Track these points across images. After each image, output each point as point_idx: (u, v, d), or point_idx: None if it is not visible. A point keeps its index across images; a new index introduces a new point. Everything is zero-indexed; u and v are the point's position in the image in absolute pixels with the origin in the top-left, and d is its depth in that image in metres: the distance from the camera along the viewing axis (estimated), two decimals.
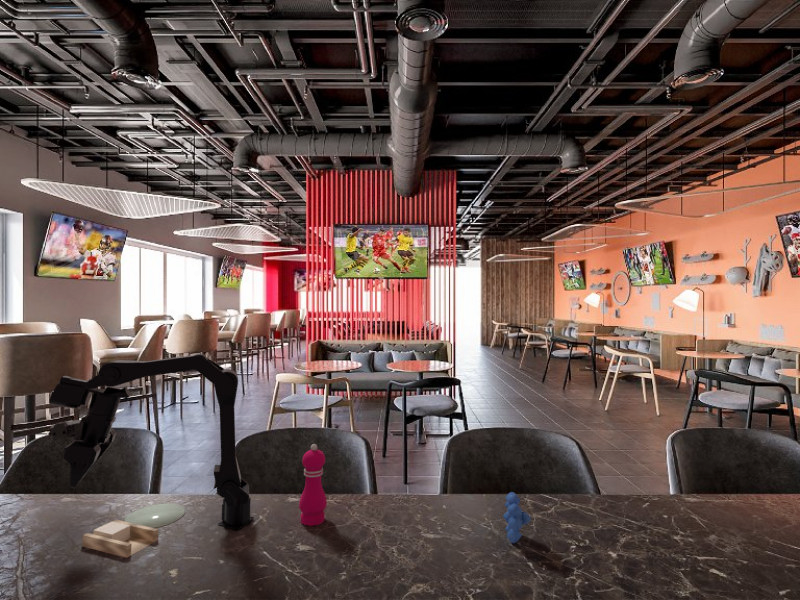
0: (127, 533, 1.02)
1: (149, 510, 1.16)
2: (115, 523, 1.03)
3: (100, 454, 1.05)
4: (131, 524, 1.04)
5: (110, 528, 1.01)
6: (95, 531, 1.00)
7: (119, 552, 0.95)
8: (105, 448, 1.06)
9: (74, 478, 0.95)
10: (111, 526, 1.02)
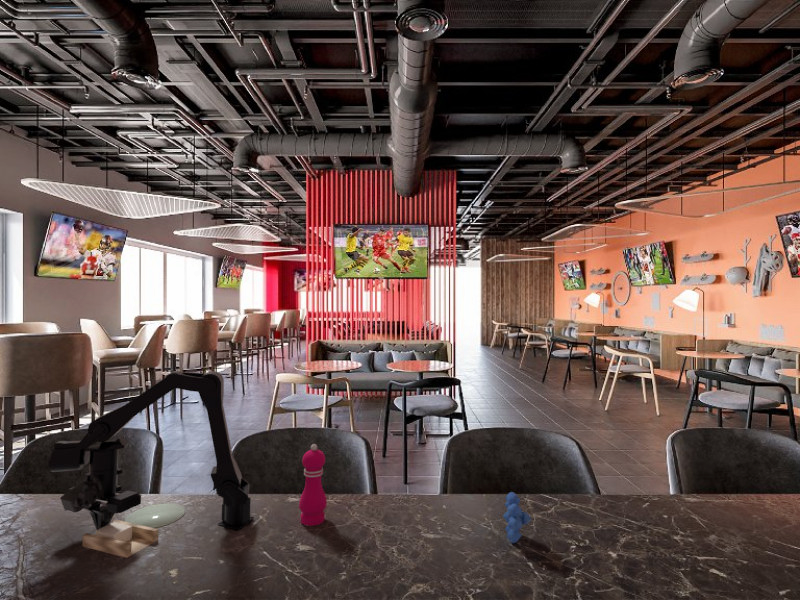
0: (129, 534, 1.01)
1: (149, 510, 1.16)
2: (117, 524, 1.03)
3: None
4: (131, 524, 1.04)
5: (112, 529, 1.00)
6: (97, 532, 0.99)
7: (119, 552, 0.95)
8: None
9: (104, 525, 1.02)
10: (113, 527, 1.01)
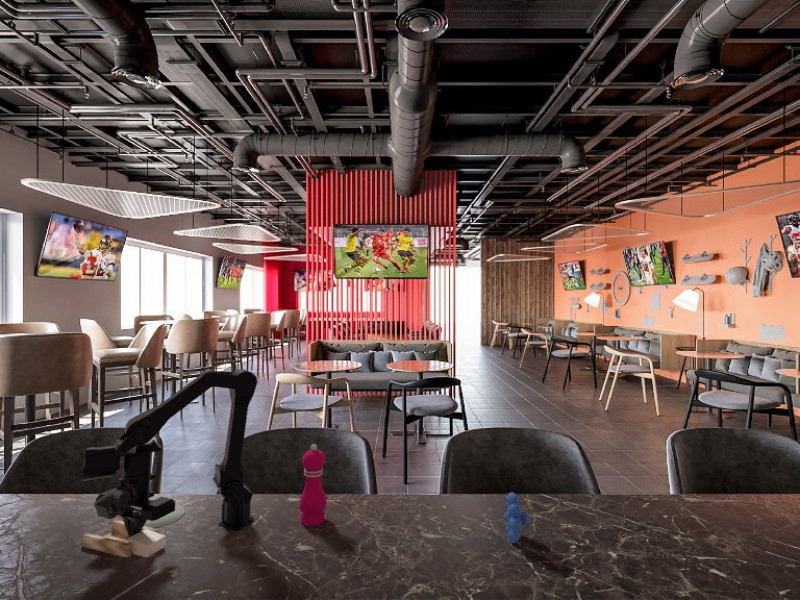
0: (162, 544, 0.98)
1: None
2: (149, 531, 0.99)
3: None
4: None
5: (146, 538, 0.97)
6: (130, 539, 0.96)
7: (119, 552, 0.95)
8: None
9: (136, 532, 0.98)
10: (146, 535, 0.98)
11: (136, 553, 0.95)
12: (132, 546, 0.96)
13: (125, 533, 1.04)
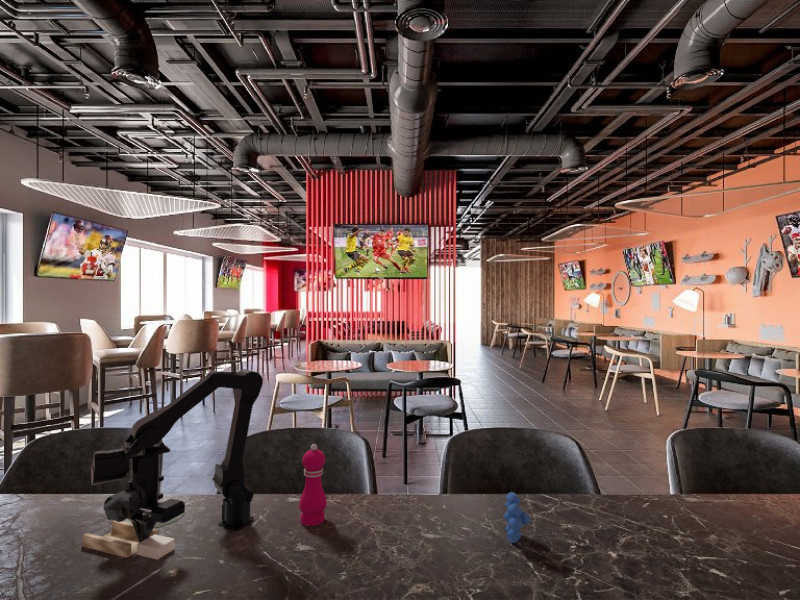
0: (172, 547, 0.97)
1: None
2: (158, 536, 0.99)
3: None
4: (131, 524, 1.04)
5: (155, 542, 0.96)
6: (139, 545, 0.95)
7: (119, 552, 0.95)
8: None
9: (146, 535, 0.98)
10: (155, 540, 0.97)
11: None
12: (142, 552, 0.95)
13: (125, 533, 1.04)
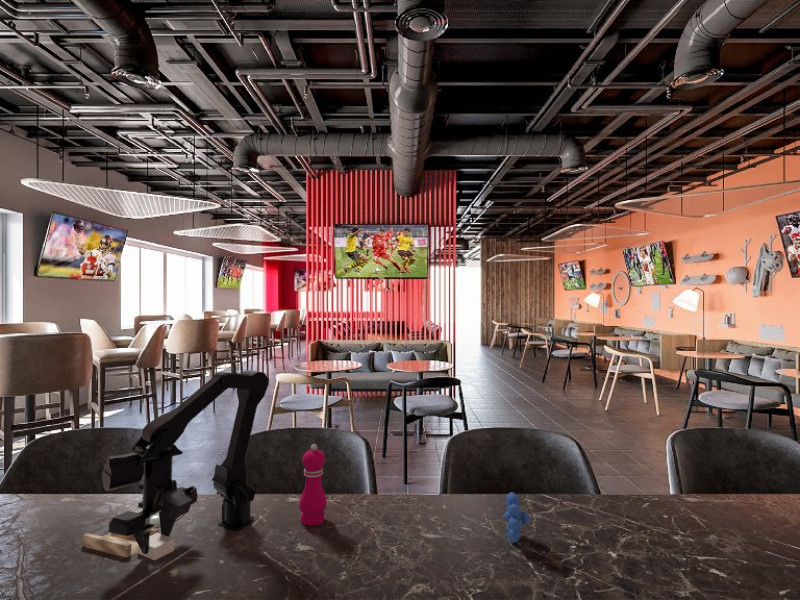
0: (171, 547, 0.96)
1: None
2: (160, 535, 0.99)
3: None
4: None
5: (154, 541, 0.96)
6: None
7: (119, 552, 0.95)
8: None
9: None
10: (156, 538, 0.97)
11: (145, 556, 0.94)
12: None
13: None
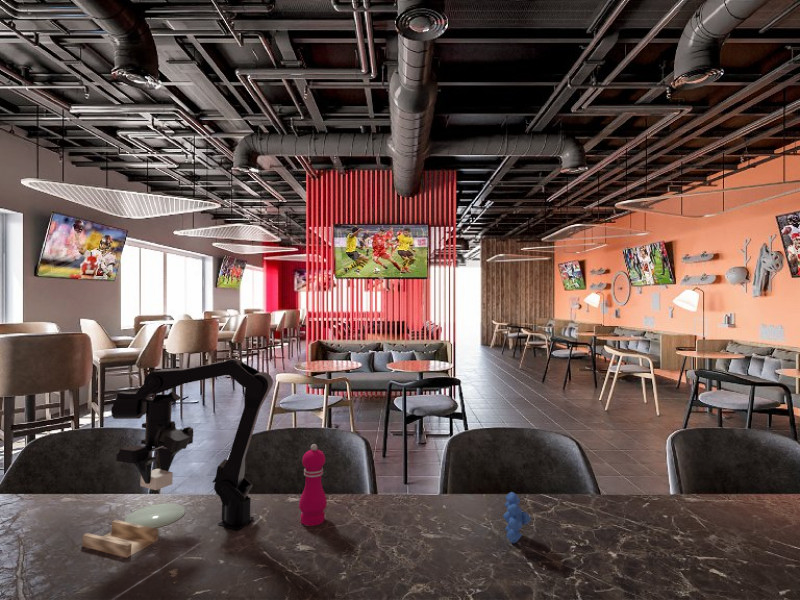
0: (170, 479, 1.10)
1: (149, 510, 1.16)
2: (160, 470, 1.12)
3: None
4: (131, 524, 1.04)
5: (155, 473, 1.09)
6: None
7: (119, 552, 0.95)
8: None
9: None
10: (156, 472, 1.10)
11: (147, 486, 1.07)
12: None
13: (125, 533, 1.04)
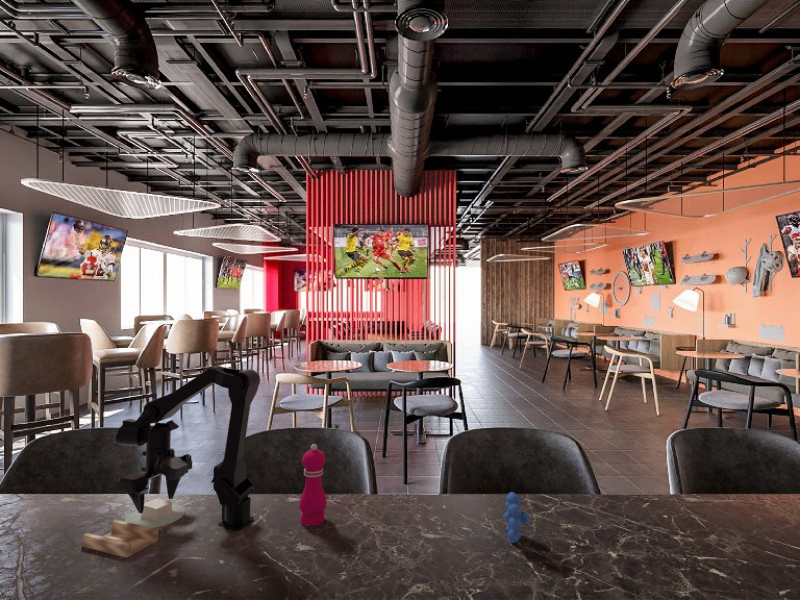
0: (169, 509, 1.14)
1: None
2: (159, 500, 1.16)
3: None
4: (131, 524, 1.04)
5: (155, 504, 1.13)
6: None
7: (119, 552, 0.95)
8: None
9: None
10: (156, 502, 1.14)
11: (148, 517, 1.12)
12: (144, 511, 1.12)
13: (125, 533, 1.04)
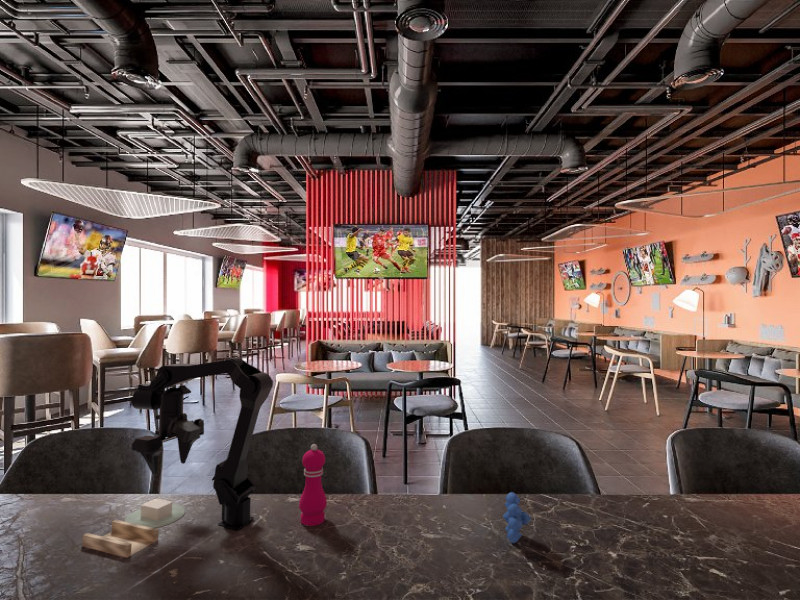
0: (170, 508, 1.14)
1: None
2: (159, 500, 1.16)
3: None
4: (131, 524, 1.04)
5: (155, 504, 1.13)
6: (142, 506, 1.12)
7: (119, 552, 0.95)
8: None
9: None
10: (156, 502, 1.14)
11: (148, 517, 1.11)
12: (144, 511, 1.12)
13: (125, 533, 1.04)
